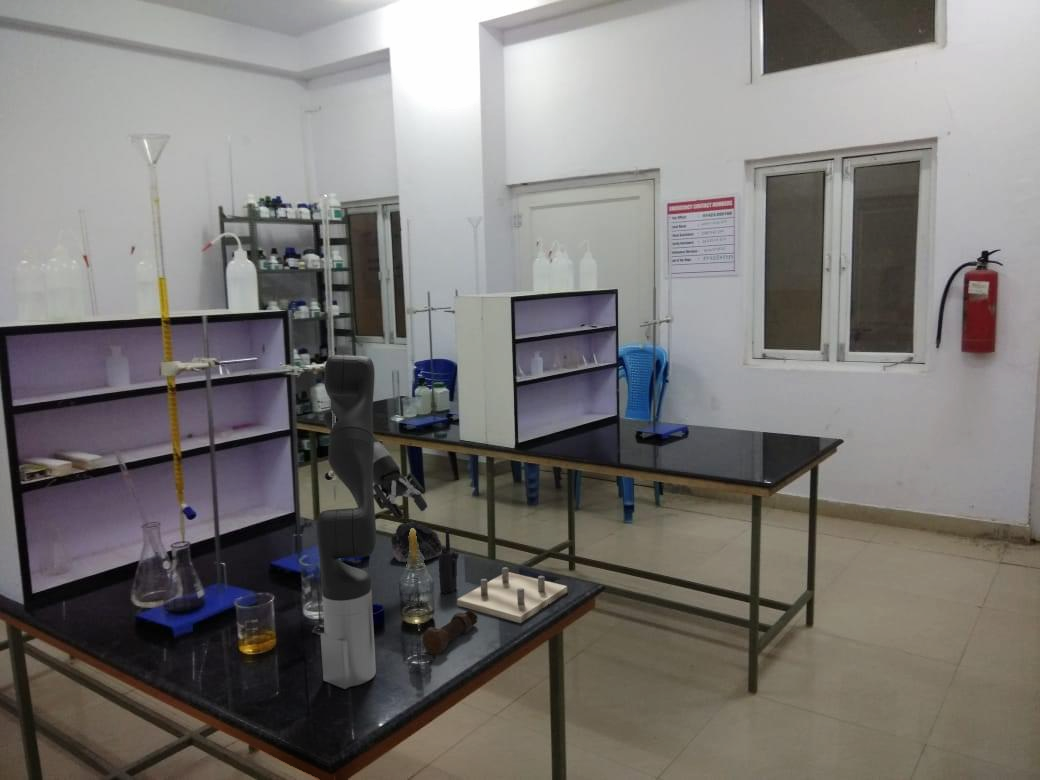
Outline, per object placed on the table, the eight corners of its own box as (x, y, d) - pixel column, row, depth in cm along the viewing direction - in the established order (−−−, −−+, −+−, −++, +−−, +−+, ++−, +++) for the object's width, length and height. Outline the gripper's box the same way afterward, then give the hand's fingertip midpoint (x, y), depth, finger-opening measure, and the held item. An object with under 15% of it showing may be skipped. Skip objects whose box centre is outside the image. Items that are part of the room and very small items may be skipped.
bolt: (475, 633, 171) (435, 661, 158) (459, 618, 173) (418, 644, 160) (486, 614, 169) (446, 640, 156) (469, 599, 171) (428, 624, 158)
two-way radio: (447, 585, 193) (444, 527, 191) (463, 587, 192) (461, 528, 189) (437, 593, 188) (435, 534, 186) (454, 595, 186) (452, 536, 184)
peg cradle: (520, 623, 171) (519, 601, 170) (457, 605, 181) (456, 585, 180) (567, 592, 187) (566, 572, 186) (506, 577, 197) (506, 558, 196)
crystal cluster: (448, 561, 211) (449, 525, 211) (401, 567, 205) (401, 529, 205) (431, 550, 223) (431, 516, 223) (386, 555, 217) (386, 520, 216)
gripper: (364, 460, 191) (401, 512, 186) (404, 449, 202) (439, 497, 197) (351, 478, 194) (386, 529, 190) (390, 466, 206) (424, 514, 201)
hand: (413, 513), depth 194 cm, fingers open, 8 cm apart
